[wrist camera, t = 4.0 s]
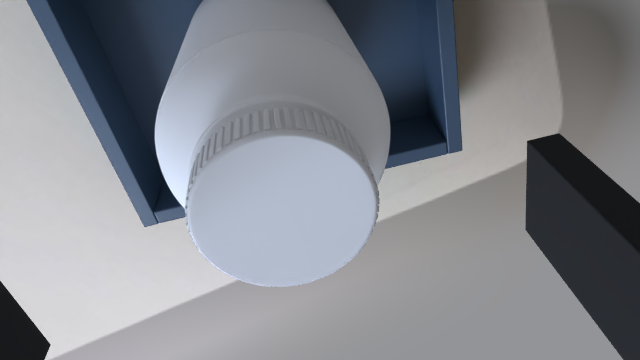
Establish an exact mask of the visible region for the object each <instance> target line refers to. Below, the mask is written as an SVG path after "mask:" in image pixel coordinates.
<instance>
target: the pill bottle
mask: <svg viewBox="0 0 640 360" xmlns="http://www.w3.org/2000/svg"><path fill="white" fill-rule="evenodd" d="M389 146H390V119H389V113H388V109H387V105H386V102H385V99H384V97H383V94H382V92H381V89H380V87H379V85H378V83H377V82H376V80H375V78H374V76H373V75H372V73H371V71H370V70H369V68H368V66H367V65H366V63H365V61H364V60H363V58H362V56H361V55H360V53H359V52H358V50H357V48H356V47H355V45H354V43H353V42H352V40H351V38H350V37H349V35H348V33H347V32H346V30H345V28H344V27H343V25H342V23H341V22H340V20H339V18H338V17H337V15H336V14H335V12H334V10H333V9H332V7H331V6H330V4H329V3H328V2H327V1H326V0H203V1H202V2H201V4H200V5H199V7H198V8H197V10H196V12H195V14H194V16H193V18H192V20H191V23H190V25H189V28H188V31H187V33H186V36H185V38H184V41H183V43H182V46H181V49H180V51H179V54H178V56H177V59H176V61H175V64H174V67H173V69H172V72H171V74H170V77H169V79H168V82H167V85H166V87H165V90H164V92H163V95H162V98H161V101H160V104H159V108H158V112H157V116H156V123H155V147H156V153H157V158H158V161H159V165H160V168H161V171H162V174H163V176H164V178H165V181H166V183H167V185H168V187H169V188H170V190H171V192H172V193H173V195H174V196H175V198H176V199H177V200H178V202H179V203H180V204H181V205H182V206H183V208H184V209H185V213H186V215H185V219H186V222H187V228H188V229H189V234H190V236H191V237H192V240H193V242H194V244H196V247H197V249H198V250H199V251H200V252H201V254H202V255H203V256H204V257H205V258H206V259H207V260H208V261H209V262H210V263H211V264H213V265H214V266H215V267H216V268H218V269H219V270H221V271H222V272H224V273H225V274H227V275H229V276H231V277H233V278H236V279H238V280H241V281H244V282H247V283H251V284H255V285H261V286H271V287H285V286H294V285H300V284H305V283H309V282H312V281H315V280H318V279H321V278H323V277H325V276H327V275H329V274H331V273H333V272H335V271H337V270H338V269H340V268H341V267H343V266H344V265H345V264H347V263H348V262H349V261H350V260H351V259H353V258H354V257H355V256H356V254H357V253H358V252H359V251H360V250H361V249H362V248H363V246H364V245H365V243H366V242H367V240H368V239H369V237H370V235H371V233H372V231H373V228H374V227H375V224H376V220H377V217H378V214H377V212H379V206H378V204H379V197H378V196H379V191H378V187H377V185H378V183H379V181H380V179H381V177H382V174H383V172H384V169H385V166H386V163H387V158H388V154H389Z"/></svg>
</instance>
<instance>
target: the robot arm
mask: <svg viewBox="0 0 640 360" xmlns="http://www.w3.org/2000/svg"><path fill="white" fill-rule="evenodd" d="M526 187H527V188H526V231H527V232H528V234H529V235H530V236H531V238H532V239H533V240H534V242H535V243H536V244H537V246H538V247H539V248H540V250H541V251H542V252H543V254H544V255H545V256H546V257H547V259H548V260H549V262H550V263H551V264H552V265H553V267H554V268H555V269H556V271H557V272H558V273H559V275H560V276H561V277H562V279H563V280H564V281H565V283H566V284H567V285H568V287H569V288H570V289H571V291H572V292H573V293H574V295H575V296H576V297H577V299H579V301H580V303H581V304H582V305H583V307H584V308H585V309H586V310H587V312H588V313H589V314H590V316H591V317H592V319H593V320H594V321H595V322H596V324H597V325H598V326H599V328H600V329H601V330H602V332H603V333H604V334H605V336H606V337H607V338H608V340H609V341H610V342H611V344H612V345H613V346H614V348H615V349H616V350H617V352H618V353H619V354H620V356H621V357H622V358H623V360H640V203H639V202H637V201H636V200H635V199H634V198H633V197H632V196H631V195H629V194H628V193H627V192H626V191H625V190H624V189H623V188H621V187H620V186H619V185H618V184H617V183H616V182H614V181H613V180H612V179H611V178H610V177H608V176H607V175H606V174H605V173H604V172H603V171H602V170H601V169H599V168H598V167H597V166H596V165H595V164H594V163H593V162H591V161H590V160H589V159H588V158H587V157H586V156H584V155H583V154H582V153H581V152H580V151H579V150H578V149H577V148H575V147H574V146H573V145H572V144H571V143H570V142H568V141H567V140H566V139H565V138H564V137H563V136H562V135H560V134H559V133H558V134H554V135H550V136H546V137H542V138H538V139H534V140H530V141H527V184H526ZM49 347H50V343H49V342H48V341H47V340H46V338H45V337H44V336H43V334H42V333H41V332H40V331H39V329H38V328H37V327H36V326H35V324H34V323H33V322H32V321H31V319H30V318H29V317H28V315H27V314H26V313H25V312H24V310H23V309H22V308H21V307H20V305H19V304H18V303H17V301H16V300H15V299H14V298H13V296H12V295H11V294H10V293H9V291H8V290H7V289H6V287H5V286H4V285H3V284H2V282H1V281H0V360H44V359H45V357H46V354H47V352H48V350H49Z"/></svg>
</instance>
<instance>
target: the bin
mask: <svg viewBox="0 0 640 360" xmlns="http://www.w3.org/2000/svg"><path fill="white" fill-rule="evenodd" d="M202 1H203V0H27V2H28V4H29V6H30V8H31V10H32V12H33V14H34V16H35V18H36V20H37V21H38V23H39V25H40V27H41V29H42V31H43V33H44V35H45V37H46V39H47V41H48V43H49V45H50V46H51V48H52V50H53V52H54V54H55V56H56V58H57V60H58V62H59V64H60V66H61V68H62V70H63V71H64V73H65V75H66V77H67V79H68V81H69V83H70V85H71V87H72V89H73V91H74V93H75V94H76V96H77V98H78V100H79V102H80V104H81V106H82V108H83V110H84V112H85V114H86V116H87V118H88V119H89V121H90V123H91V125H92V127H93V129H94V131H95V133H96V135H97V137H98V139H99V141H100V142H101V144H102V146H103V148H104V150H105V152H106V154H107V156H108V158H109V160H110V162H111V164H112V166H113V167H114V169H115V171H116V173H117V175H118V177H119V179H120V181H121V183H122V185H123V187H124V189H125V190H126V192H127V194H128V196H129V198H130V200H131V202H132V204H133V206H134V208H135V210H136V212H137V214H138V215H139V217H140V219H141V221H142V223H143V225H144V227H147V226H151V225H155V224H158V223H162V222H166V221H170V220H174V219H179V218H183V217H185V215H186V213H185V209H184V208H183V206H182V205H181V204H180V203H179V202H178V200H177V199H176V198H175V196H174V195H173V193H172V192H171V190H170V188H169V187H168V185H167V183H166V181H165V178H164V176H163V174H162V171H161V168H160V165H159V161H158V158H157V153H156V147H155V123H156V116H157V112H158V108H159V104H160V101H161V98H162V95H163V92H164V90H165V87H166V85H167V82H168V79H169V77H170V74H171V72H172V69H173V67H174V64H175V61H176V59H177V56H178V54H179V51H180V49H181V46H182V43H183V41H184V38H185V36H186V33H187V31H188V28H189V25H190V23H191V20H192V18H193V16H194V14H195V12H196V10H197V8H198V7H199V5H200V4H201V2H202ZM326 1H327V2H328V3H329V4H330V6H331V7H332V9H333V10H334V12H335V14H336V15H337V17H338V18H339V20H340V22H341V23H342V25H343V27H344V28H345V30H346V32H347V33H348V35H349V37H350V38H351V40H352V42H353V43H354V45H355V47H356V48H357V50H358V52H359V53H360V55H361V56H362V58H363V60H364V61H365V63H366V65H367V66H368V68H369V70H370V71H371V73H372V75H373V76H374V78H375V80H376V82H377V83H378V85H379V87H380V89H381V92H382V94H383V97H384V99H385V102H386V105H387V109H388V113H389V119H390V146H389V154H388V158H387V163H386V166H385V169H387V168H391V167H395V166H399V165H403V164H407V163H412V162H416V161H420V160H424V159H428V158H432V157H437V156H441V155H445V154H447V153H454V152H458V151H462V135H461V120H460V104H459V88H458V73H457V57H456V41H455V26H454V10H453V0H326Z"/></svg>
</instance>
